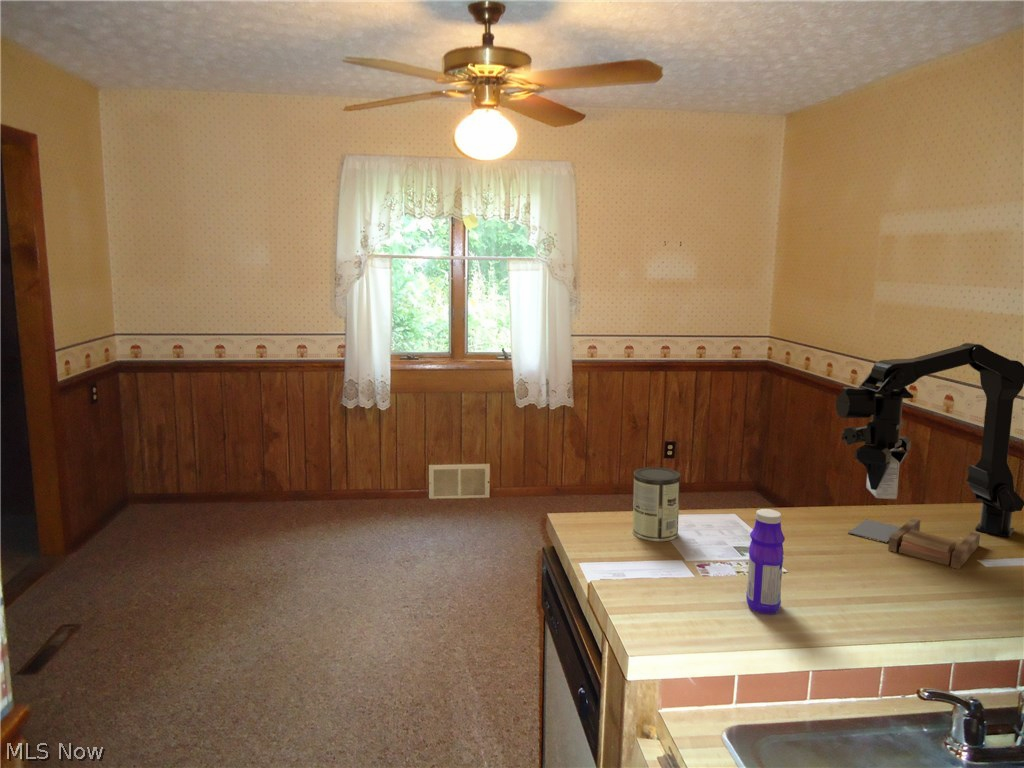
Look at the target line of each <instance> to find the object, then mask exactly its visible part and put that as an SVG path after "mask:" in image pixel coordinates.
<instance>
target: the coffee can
mask: <svg viewBox="0 0 1024 768" xmlns="http://www.w3.org/2000/svg"><path fill="white" fill-rule="evenodd" d="M681 477H682V476H681V473H680V472H678V471H677V470H674V469H670V468H665V467H654V466H652V467H651V466H650V467H649V466H648V467H643V468H642V467H641V468H638V469H635V470H634V471H633V498H632V499H633V504H632V508H633V509H632V510H633V512H632V533H633V535H634V536H635V537H637V538H639V539H641V540H644V541H650V542H663V543H664V542H668V541H669V542H670V541H673V540H675V539H677V538H678V536H679V511H680V488H681V487H680V486H681V485H680V483H681V482H680V480H681Z"/></svg>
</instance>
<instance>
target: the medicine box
mask: <svg viewBox="0 0 1024 768" xmlns="http://www.w3.org/2000/svg"><path fill="white" fill-rule="evenodd" d="M889 462H890V465H889V467H888V469H887V471H886V473H885V475H884V477H883V479H882V481H881V483H880V485H879V486H878V488H877V490H873V489H871V486H870V482H869V478H868V474H867V473H866V483H865V484H866V485H865V486H866V489H867V490H868V491H869V492H870V493H871V494H872V495H873V496H874V498H876V499H886V500H887V499H888V500H896V499H897V498H898V487H899V474H900V473H899V472H900V466H899V461H897V460H896V459H895V458H894V457H893V456H891V458H890V461H889Z"/></svg>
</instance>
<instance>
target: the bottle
mask: <svg viewBox="0 0 1024 768" xmlns="http://www.w3.org/2000/svg"><path fill="white" fill-rule="evenodd" d="M781 522H782V514H781V512H779V511H778V510H775V509H769V508H761V509H758V510H756V513H755V523H754V526H753V529H752V530H751V532H749V533H750V534H749V538H750V539H751V541H750V543H749V547H748V571H747V585H746V593H745V594H746V598H745V599H746V602H747V605H748V607H749V608H750V610H752V611H754V612H755V613H760V614H766V615H767V614H768V615H771V614H777V613H778V611H779V609H780V607H781V603H782V600H781V598H782V596H781V594H782V592H781V591H782V580H783V579H782V578H783V577H782V575H783V574H782V573H783V563H784V560H785V559H784V558H785V557H784V555H785V554H784V546H783V544H784V542H785V539H786V538H785V536H784V534H783V530H782V523H781Z"/></svg>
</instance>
